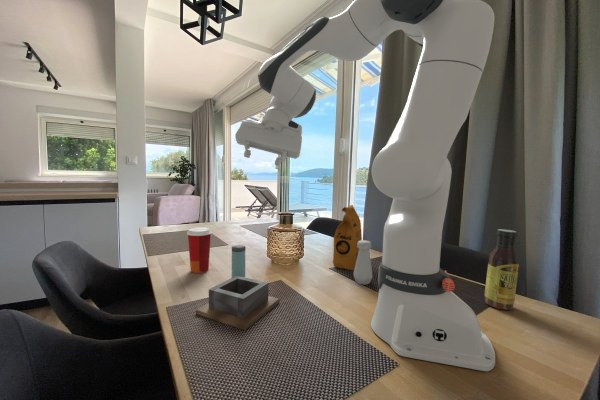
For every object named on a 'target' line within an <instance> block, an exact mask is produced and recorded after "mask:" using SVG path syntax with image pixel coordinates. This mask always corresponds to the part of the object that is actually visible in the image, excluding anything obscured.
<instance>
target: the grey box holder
mask: <svg viewBox="0 0 600 400" xmlns="http://www.w3.org/2000/svg"><path fill="white" fill-rule="evenodd" d="M279 303H280V298H278V297H274V296H269V282H267V281H262V280H258V279H253V278H249V277H246V276H245V277H241V276H235V277H233V278H232V277H231V278H229V279H227V280H225V281H223V282H221V283H218V284H217V285H215V286H213V287H211V288H209V289H208V302H206V303H205V304H203V305H202V306H200V307H198V308H196V309H195V315H198V316H201V317H204V318H208V319H210V320H214V321H215V322H220V323H222V324H224V325H228V326H231V327H235V328H237V329H239V330H243V331H246V330H248V329H249V327H251V326H253V324H255V323H256V322H257V321H258V320H259V319H261V318H262V317H264V316H265V315H266V314H267V313H268V312H269V311H271V310H272V309H273V308H274V307H276V306H277V305H278V304H279Z"/></svg>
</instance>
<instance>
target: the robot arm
mask: <svg viewBox="0 0 600 400" xmlns="http://www.w3.org/2000/svg"><path fill="white" fill-rule="evenodd" d="M495 18H496V16H495V12H494V10H493V8H492V7H491V6H490V5H489V4H488V3H487V2H486V1H483V0H354V1H352V2H351V3H350V5H349V6H348V7H347V8H346V9H345V10H344V11H342V12H341V13H339V14H337V15H335V16H332V17H326V16H321V17H319V18H318V19H316V20H315V21H313V22H312V23H311V24H310V25H308V26H307V27H305V29H303V30H302V31H301V32H300V33H299V34H297V36H295V37H294V38H293V39H292V40H290V41H289V42H288V43H287V44H286V45H285V46H284V47H282V48H281V49H280V50H279V51H278V52H276V53H275V54H273V55H271V57H270V58H268V59H267V60H265V61H264V62H263V63H262V65H261V66H260V68H259V71H258V72H257V77H258V82H259V83H258V84H259V87H260V89H262V90H263V91H265V92H267V93H268V94H269V95H272V98H271V100H270V102H269V104H268V108H267V110H266V112H265V114H264V115H263V118H262V120H261V121H257V120H252V119H247V120H245V119H244V120H243V121H241V124H240V126H239V128H238V129H237V130H236V132H235V141H236V144H238V145H239V146H244V149H245V150H244V153H243V156H244V157H245V158H247V159H249V158H250V157H251V155H252V153H251V150H250V148H252V149H256V150H260V151H264V152H267V153H271V154H276V155H279V156H280V157H277V156H276V159H275V160H274V161H275V162H274V165H275V166H279V167H280V166H281V164H282V163H283V162H284V161H286V159H287V158H291V159H294V160H295V159H298V158H299V157H300V156H301V155H300V154H301V149H302V142H303V136H302V133H303V127H302V125H301V124H300V123H297V122H296V121H294V120H293V119H299V118H300V117H304V116H305V115H307V114H308V113H309V112H310V111H311V110H312V109H313V107H314V105H315V102H316V98H317V89H316V87H314V85H313V84H312V83H310V81H308V79H306V78H305V77H303V76H302V75H301V74H300V73H299V72H297V71H296V70H295V69H294V68H293V67H292V66H291V65H293V64H294V63H295V62H296V61H298V60H299V59H300V58H301V57H302V56H304V55H305V54H307V53H308V52H311V51H312V52H313V51H317V52H321V53H323V54H327V55H330V56H332V57H335V58H336V59H339V60H341V61H346V62H355V61H356V62H357V61H360V60H362V59H363V58H365V57H367V55H369V54H370V53H371V52H373V51H374V50H375V49H376V48H377V47H378V46H379V45H380V44H382V42H383V41H384V40H385V39H386V38H387V37H388V36H390V35H391V34H392V33H393V32H396V31H402V32H403V34H405V35H406V36H407V37H409V38H410V39H412V40H413V41H414V42H416V44H417V45H419V46H420V47H421V48H422V50H421V53H420V57H419V60H418V63H417V67H416V68H415V69H416V70H415V74H414V76H413V80H412V83H411V87H410V90H409V93H408V95H407V96H408V97H407V99H406V103H405V105H404V108H403V110H402V113H401V116H400V117H399V119H398V121H397V123H396V125H395V127H394V129H393V131H392V133H391V135H390V136H389V138H388V141H387V142H386V145H385V146H384V147H383V148H382V149H381V150H380V151H379V152H378V153H377V154H376V155H375V157H374V159H373V161H372V166H371V171H370V172H371V177H372V181H373V183H374V185H375V187H376V188H377V190H379V191H380V192H381V193H382V194H383V195H385V196H387V197H389V198H392V201H391V202H392V203H391V205H390V210H389V213H388V216H387V219H386V221H385V222H384V226H383V234H382V235H383V237H382V256H381V257H382V258H381V260H380V262H379V267H378V275H377V277H378V280H377V281H378V282H377V283H378V289H379V290H378V297H377V301H376V305H375V309H374V313H373V316H372V317H371V320H370V327H371V329H372V330H373V332H374V333H375V335H377V336H378V337H379V338H380V339H381V340H382V341H384V342H385V343H387V344H388V345H389V346H390V347H391V349H392V350H393V351H394V352H395V353H396V354H397V355H399V356H401V357H404V358H410V359H416V360H422V361H426V362H433V363H438V364H444V365H449V366H453V367H459V368H465V369H471V370H476V371H483V372H489V371H492V370H493V369H494V367H496V353H495V349H494V346H493V344H492V342H491V340H490V339H489V338H488V336H487V334H485V333H484V332H483V331H482V329H481V325H480V321H479V319H478V317H477V315H476V313H475V311H474V310H473V309H472V308H471V307H470V306H469V304H467V303H466V302H464V300H462V299H461V298H460V297H459V296H458V295H456V293H454V292H453V291H454V290H455V288H456V287H455V286H456V285H455V282H454V280H452V278H451V276H450V274H448V272H447V270H446V269H445V270H443V269H442V268H441V267H440V263H441V250H442V249H441V248H442V236H443V228H444V223H445V218H446V212H447V207H448V202H449V201H448V200H449V194H450V188H451V181H452V180H451V179H452V175H453V174H452V165H451V162H450V160H449V159H448V154H449V153H450V150H451V148H452V146H453V143H454V141H455V139H456V137H457V135H458V133H459V131H460V130H461V127H462V126H463V124H464V123H465V121H466V120H467V117H468V115H469V112H470V109H471V106H472V104H473V101H474V99H475V95H476V92H477V89H478V86H479V83H480V82H481V78H482V75H483V72H484V69H485V66H486V64H487V60H488V57H489V53H490V48H491V44H492V41H493V33H494V29H495V28H494V27H495Z"/></svg>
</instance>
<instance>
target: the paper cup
mask: <svg viewBox="0 0 600 400" xmlns="http://www.w3.org/2000/svg"><path fill="white" fill-rule="evenodd" d="M212 233H213V232H212V231H211V229H210V228H209V227H192V228H190V229H188V230H187V233H186V235H187V239H188V240H187V242H188V251H189V253H188V254H189V267H190V272H191V273H193V274H202V273H206V272H208V271H209V270H210V269H209V267H210V251H211V249H210V248H211V235H212Z"/></svg>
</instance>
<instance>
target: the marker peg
mask: <svg viewBox="0 0 600 400" xmlns="http://www.w3.org/2000/svg"><path fill="white" fill-rule="evenodd" d="M246 250H247V249H246V246H245V245H242V244H238V245H237V244H236V245H232V246H231V278H233V277H235V276H241V277H245V278H246Z"/></svg>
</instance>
